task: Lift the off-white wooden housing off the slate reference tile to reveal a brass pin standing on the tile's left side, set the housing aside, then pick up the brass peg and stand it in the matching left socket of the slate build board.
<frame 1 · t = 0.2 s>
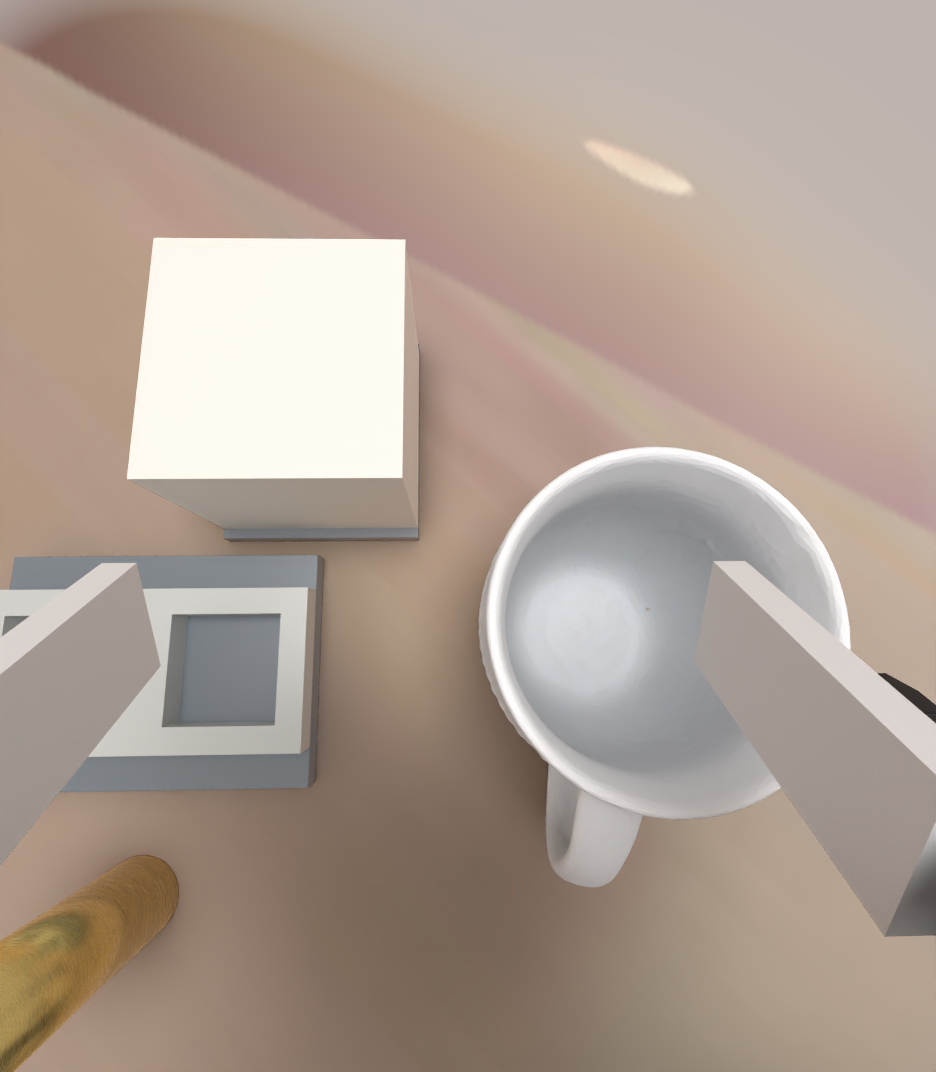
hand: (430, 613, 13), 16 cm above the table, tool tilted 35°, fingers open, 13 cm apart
peg: (139, 897, 26), on the table
housing: (325, 437, 30), point 1 cm above the table, touching reference tile
mug: (571, 652, 29), on the table
build board: (170, 667, 28), on the table
reference tile: (328, 442, 31), on the table
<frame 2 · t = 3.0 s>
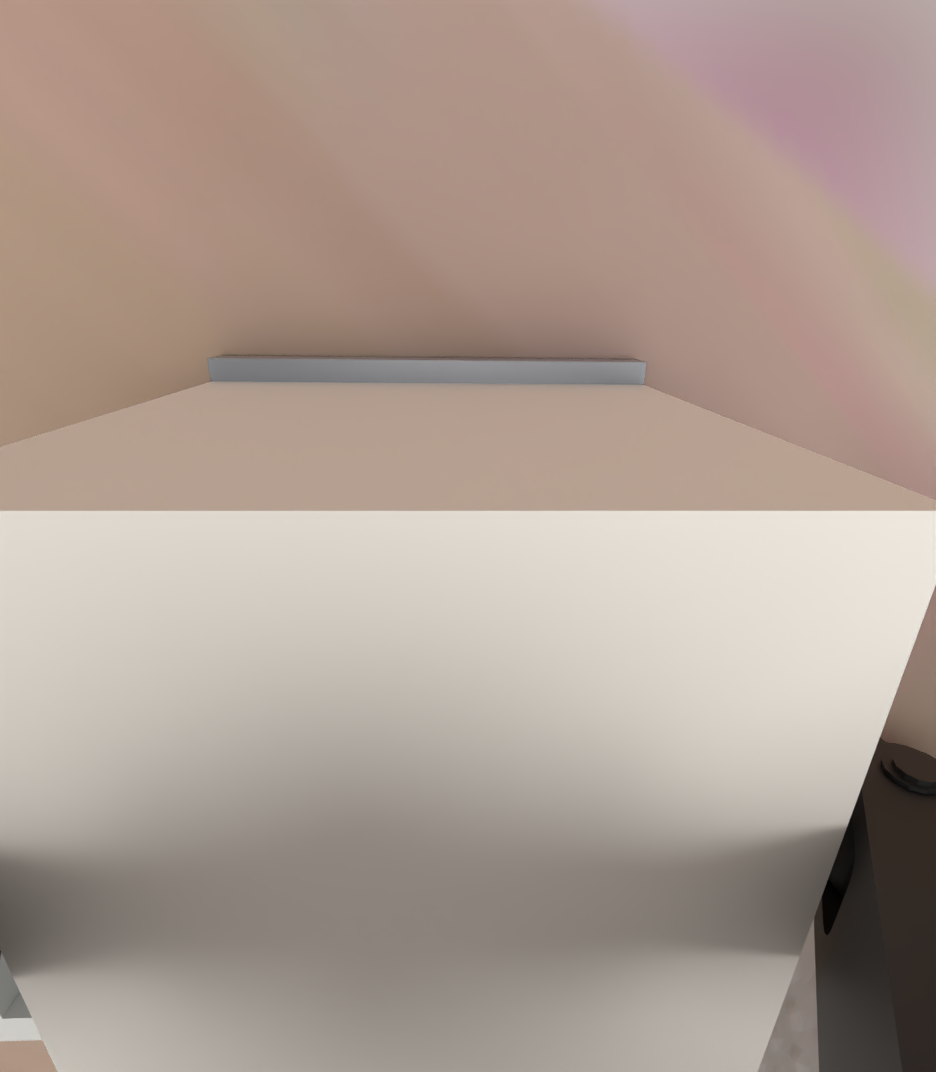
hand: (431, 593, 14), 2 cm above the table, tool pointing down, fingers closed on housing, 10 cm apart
housing: (432, 577, 15), point 1 cm above the table, touching gripper, reference tile
mug: (791, 844, 21), on the table
build board: (225, 871, 20), on the table
reference tile: (433, 564, 16), on the table
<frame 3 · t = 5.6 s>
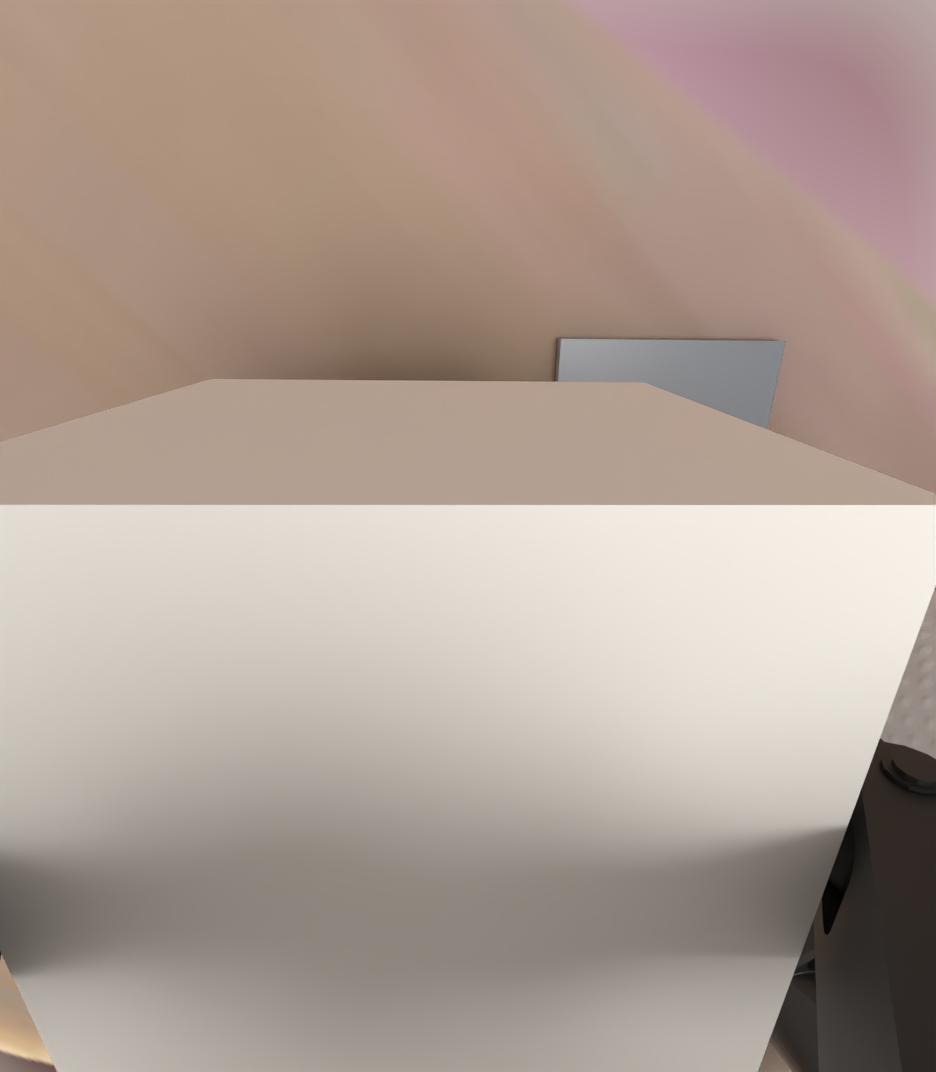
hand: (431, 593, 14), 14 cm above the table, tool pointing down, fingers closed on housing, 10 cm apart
housing: (432, 575, 15), point 13 cm above the table, touching gripper
mug: (845, 652, 32), on the table
reference tile: (651, 457, 27), on the table
when the fingers open (2 cm above the table, at t = 8.1 s): housing drops 1 cm, on the table.
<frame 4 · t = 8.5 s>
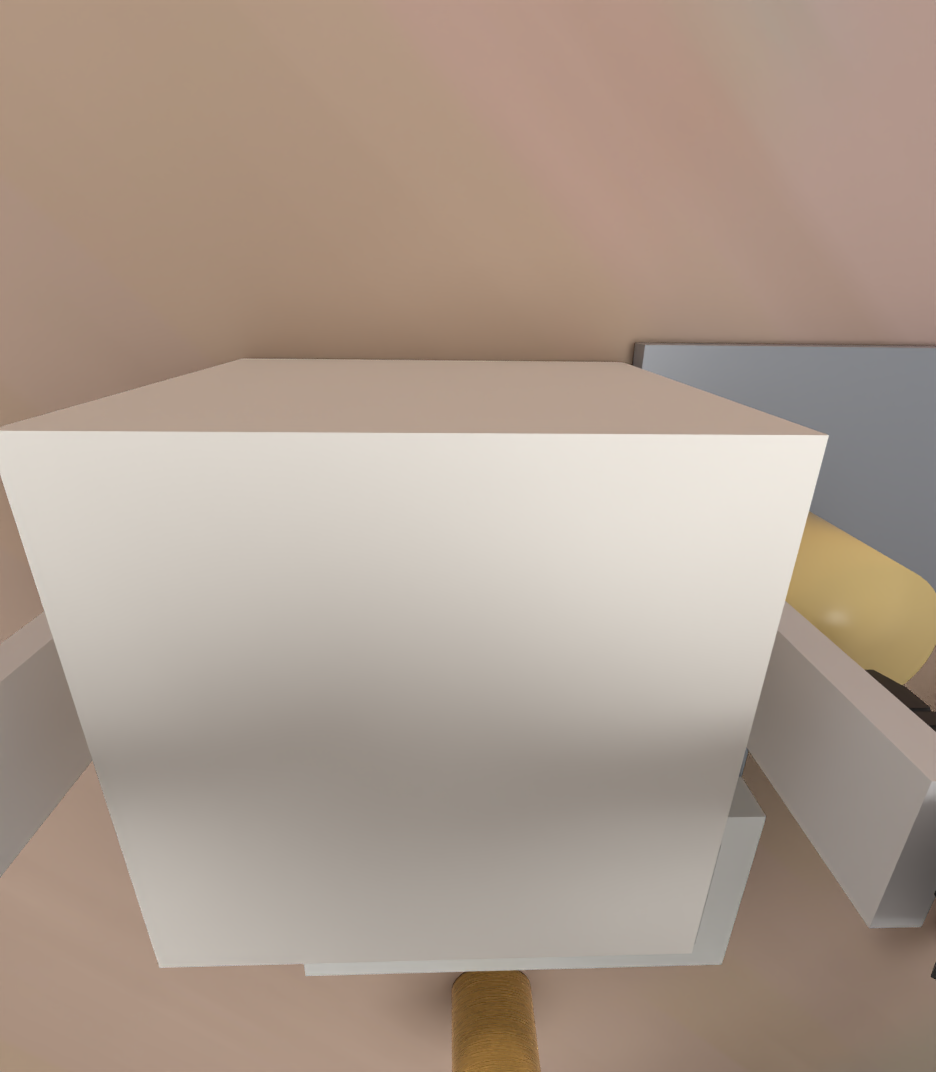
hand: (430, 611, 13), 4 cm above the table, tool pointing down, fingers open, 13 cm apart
peg: (491, 990, 26), on the table
housing: (436, 534, 17), on the table
build board: (512, 823, 21), on the table
reference tile: (774, 534, 17), on the table
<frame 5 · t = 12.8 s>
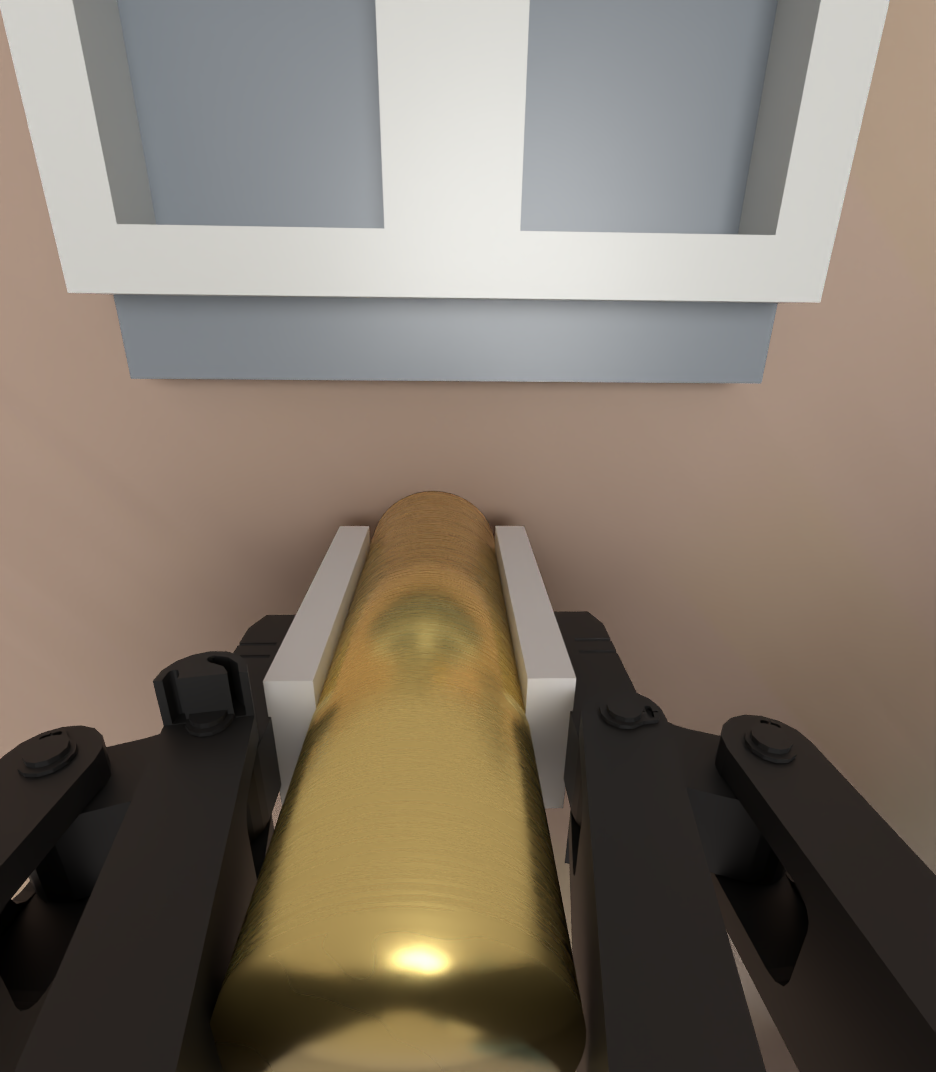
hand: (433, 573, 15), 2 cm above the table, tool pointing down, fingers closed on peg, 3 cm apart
peg: (433, 549, 16), on the table, touching gripper
build board: (451, 120, 13), on the table
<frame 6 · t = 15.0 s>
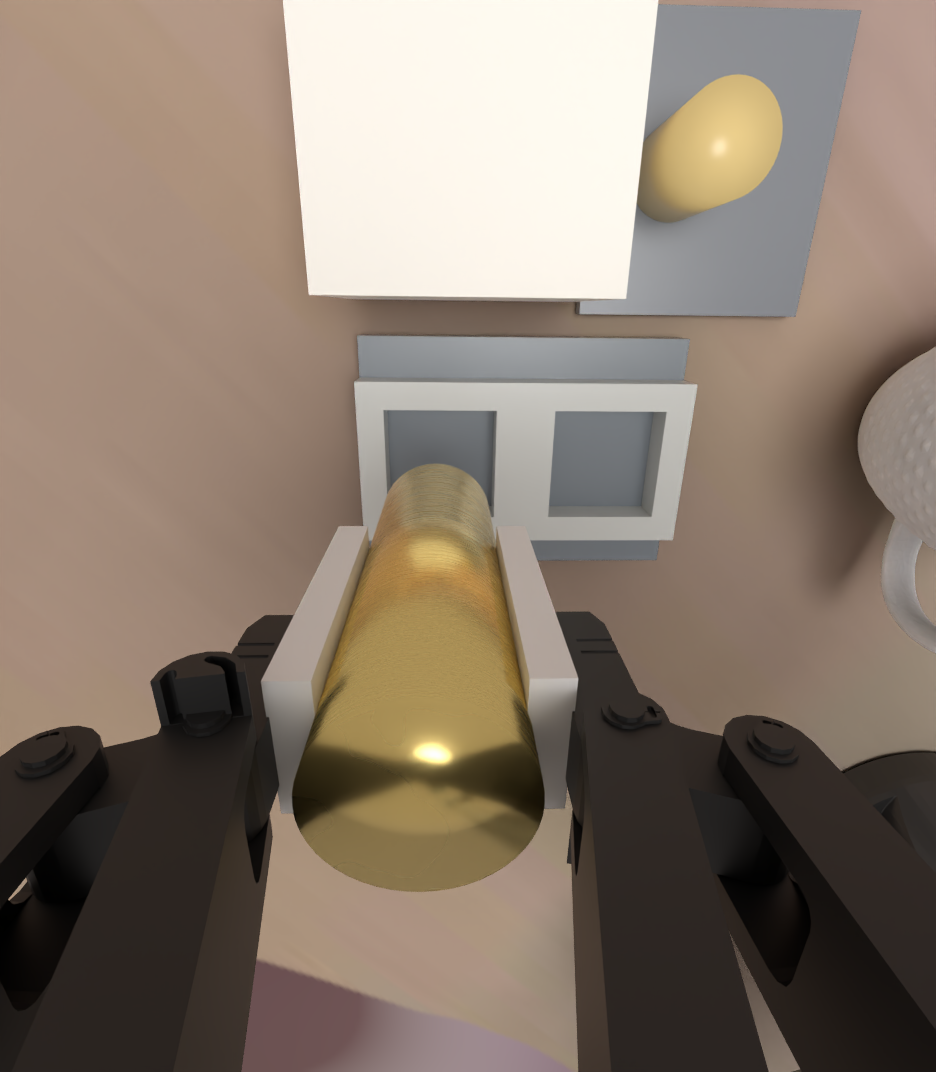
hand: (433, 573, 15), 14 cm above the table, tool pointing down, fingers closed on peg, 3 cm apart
peg: (436, 515, 19), point 10 cm above the table, touching gripper
housing: (463, 173, 24), on the table
mug: (908, 441, 29), on the table
build board: (516, 450, 28), on the table
reference tile: (701, 178, 24), on the table
when the fingers open (5 cm above the table, at t = 17.3 s): peg stays where it is, resting on build board.
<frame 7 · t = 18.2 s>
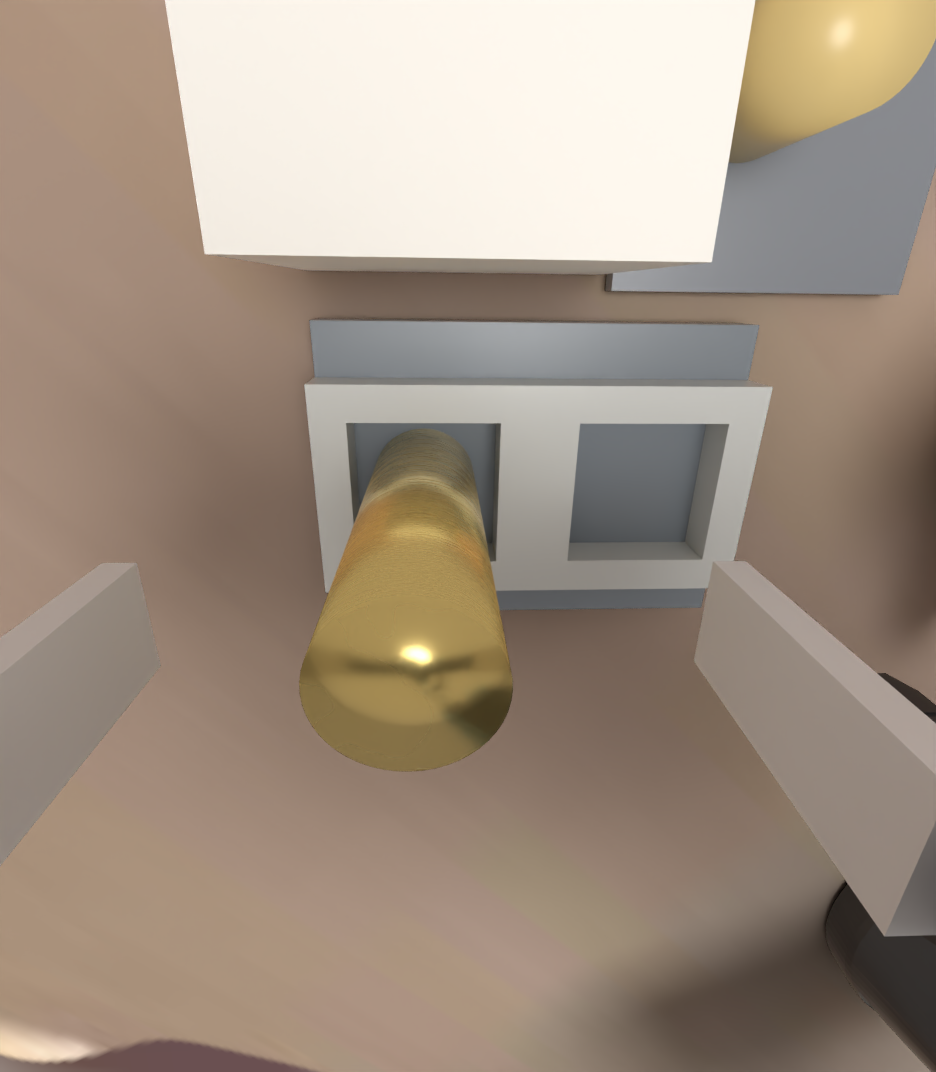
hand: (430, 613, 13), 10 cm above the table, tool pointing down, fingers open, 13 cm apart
peg: (424, 477, 20), point 1 cm above the table, touching build board
housing: (454, 91, 17), on the table
build board: (524, 470, 22), on the table
reference tile: (781, 101, 18), on the table
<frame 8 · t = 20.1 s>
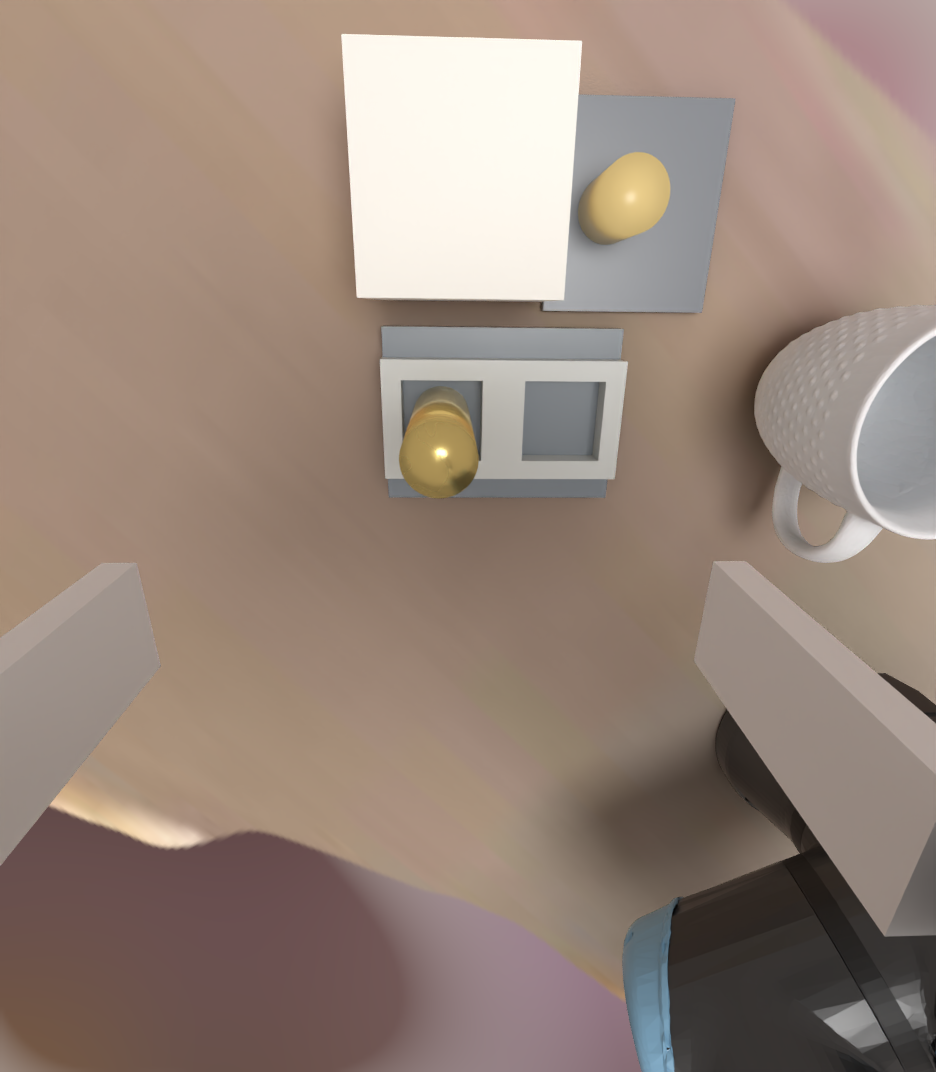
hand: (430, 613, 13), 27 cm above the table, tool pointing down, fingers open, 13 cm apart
peg: (441, 414, 36), point 1 cm above the table, touching build board
housing: (458, 209, 33), on the table
mug: (795, 407, 39), on the table
build board: (498, 413, 38), on the table
reference tile: (629, 212, 34), on the table
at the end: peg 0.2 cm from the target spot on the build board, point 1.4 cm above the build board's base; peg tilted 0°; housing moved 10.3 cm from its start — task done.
